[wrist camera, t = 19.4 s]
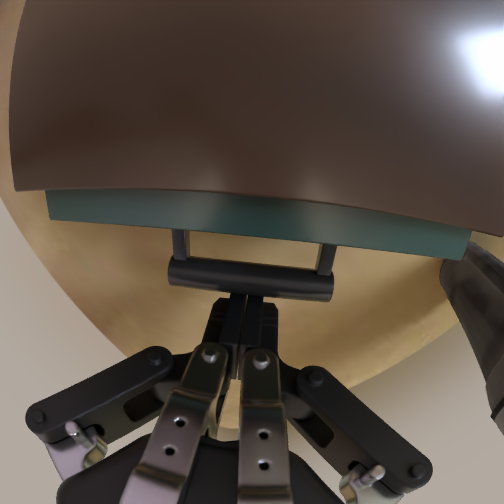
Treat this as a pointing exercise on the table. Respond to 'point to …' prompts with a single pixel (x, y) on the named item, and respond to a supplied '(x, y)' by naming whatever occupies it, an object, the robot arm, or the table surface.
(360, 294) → the table surface
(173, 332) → the table surface
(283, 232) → the drawer
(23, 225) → the table surface
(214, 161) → the cabinet
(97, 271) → the table surface
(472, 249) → the beverage cup
